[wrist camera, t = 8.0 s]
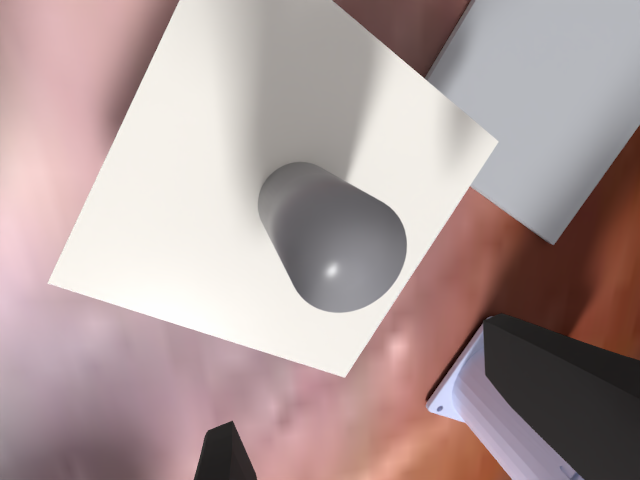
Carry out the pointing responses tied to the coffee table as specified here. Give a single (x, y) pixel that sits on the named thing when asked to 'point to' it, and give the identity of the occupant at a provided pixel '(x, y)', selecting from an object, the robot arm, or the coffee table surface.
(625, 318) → the coffee table surface
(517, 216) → the mat
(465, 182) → the lid
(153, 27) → the coffee table surface
